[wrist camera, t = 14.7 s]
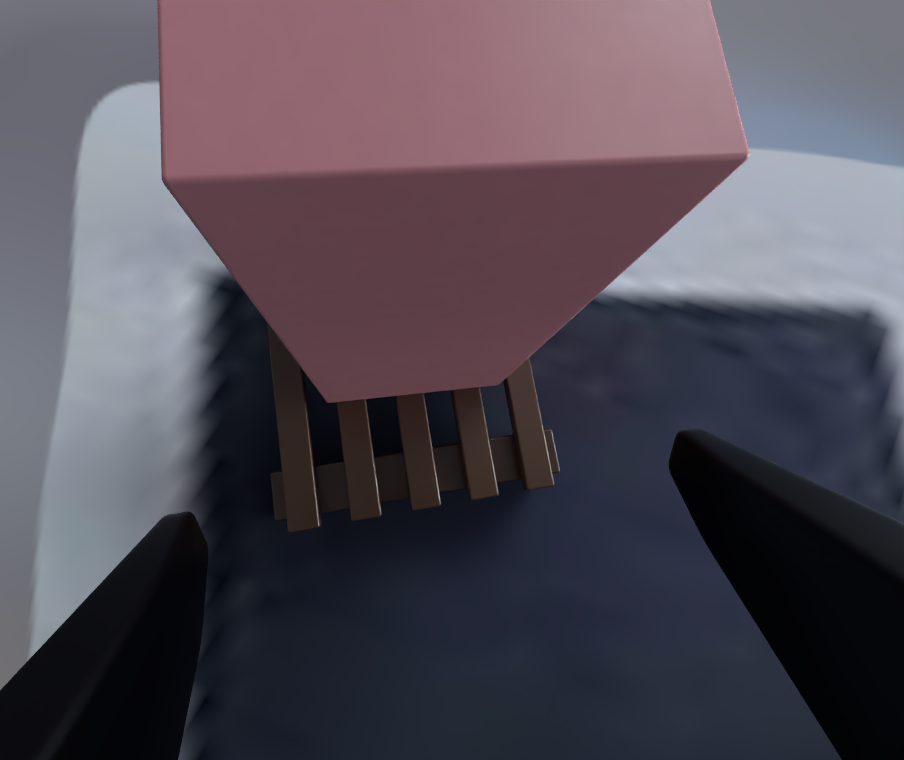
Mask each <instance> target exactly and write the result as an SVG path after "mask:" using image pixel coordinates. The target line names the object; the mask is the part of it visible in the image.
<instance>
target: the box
mask: <svg viewBox="0 0 904 760" xmlns="http://www.w3.org/2000/svg"><path fill="white" fill-rule="evenodd" d="M158 41H159V83H160V124H161V165H162V181H163V183H164V185H165V186H166V187H167V189H168V190H169V191H170V193H171V194H172V195H173V197H174V198H175V199H176V201H177V202H178V203H179V205H180V206H181V207H182V209H183V210H184V211H185V213H186V214H187V215H188V217H189V218H190V219H191V221H192V222H193V223H194V225H195V226H196V227H197V229H198V230H199V231H200V233H201V234H202V236H203V237H204V238H205V240H206V241H207V242H208V244H209V245H210V246H211V248H212V249H213V250H214V252H215V253H216V254H217V256H218V257H219V258H220V260H221V261H222V262H223V264H224V265H225V266H226V268H227V269H228V270H229V272H230V273H231V274H232V276H233V277H234V278H235V280H236V281H237V282H238V284H239V285H240V286H241V288H242V289H243V290H244V292H245V293H246V294H247V296H248V297H249V298H250V300H251V301H252V303H253V304H254V305H255V307H256V308H257V309H258V311H259V312H260V313H261V315H262V316H263V317H264V319H265V320H266V321H267V323H268V324H269V325H270V327H271V328H272V329H273V331H274V332H275V333H276V335H277V336H278V337H279V339H280V340H281V341H282V343H283V344H284V345H285V347H286V348H287V349H288V351H289V352H290V353H291V355H292V356H293V357H294V359H295V360H296V361H297V363H298V364H299V366H300V367H301V368H302V370H303V371H304V372H305V374H306V375H307V376H308V378H309V379H310V380H311V382H312V383H313V384H314V386H315V387H316V388H317V390H318V391H319V392H320V394H321V395H322V396H323V398H324V399H325V400H326V402H327V403H333V402H342V401H352V400H361V399H371V398H380V397H390V396H399V395H409V394H418V393H428V392H437V391H447V390H456V389H466V388H476V387H485V386H495V385H499V384H500V383H501V382H502V381H503V380H504V379H505V378H507V377H508V376H509V375H510V374H511V373H512V372H513V371H514V370H515V369H517V368H518V367H519V366H520V365H521V364H522V363H523V362H524V361H525V360H526V359H528V358H529V357H530V356H531V355H532V354H533V353H534V352H535V351H536V350H537V349H539V348H540V347H541V346H542V345H543V344H544V343H545V342H546V341H547V340H549V339H550V338H551V337H552V336H553V335H554V334H555V333H556V332H557V331H558V330H560V329H561V328H562V327H563V326H564V325H565V324H566V323H567V322H568V321H570V320H571V319H572V318H573V317H574V316H575V315H576V314H577V313H578V312H579V311H581V310H582V309H583V308H584V307H585V306H586V305H587V304H588V303H589V302H591V301H592V300H593V299H594V298H595V297H596V296H597V295H598V294H599V293H600V292H602V291H603V290H604V289H605V288H606V287H607V286H608V285H609V284H610V283H612V282H613V281H614V280H615V279H616V278H617V277H618V276H619V275H620V274H621V273H623V272H624V271H625V270H626V269H627V268H628V267H629V266H630V265H631V264H633V263H634V262H635V261H636V260H637V259H638V258H639V257H640V256H641V255H642V254H644V253H645V252H646V251H647V250H648V249H649V248H650V247H651V246H652V245H653V244H655V243H656V242H657V241H658V240H659V239H660V238H661V237H662V236H663V235H665V234H666V233H667V232H668V231H669V230H670V229H671V228H672V227H673V226H674V225H676V224H677V223H678V222H679V221H680V220H681V219H682V218H683V217H684V216H686V215H687V214H688V213H689V212H690V211H691V210H692V209H693V208H694V207H695V206H697V205H698V204H699V203H700V202H701V201H702V200H703V199H704V198H705V197H707V196H708V195H709V194H710V193H711V192H712V191H713V190H714V189H715V188H716V187H718V186H719V185H720V184H721V183H722V182H723V181H724V180H725V179H726V178H728V177H729V176H730V175H731V174H732V173H733V172H734V171H735V170H736V169H737V168H739V167H740V166H741V165H742V164H743V163H744V162H745V161H746V160H747V159H748V158H749V153H750V152H749V148H748V145H747V141H746V137H745V133H744V130H743V125H742V122H741V118H740V114H739V110H738V106H737V102H736V99H735V95H734V91H733V87H732V83H731V80H730V76H729V72H728V68H727V64H726V61H725V57H724V53H723V49H722V45H721V41H720V37H719V34H718V30H717V26H716V22H715V18H714V14H713V11H712V7H711V3H710V0H158Z"/></svg>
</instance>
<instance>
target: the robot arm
mask: <svg viewBox="0 0 904 760" xmlns="http://www.w3.org/2000/svg"><path fill="white" fill-rule="evenodd" d="M669 470H670V473H671V476H672V478H673V480H674V482H675V484H676V486H677V488H678V490H679V492H680V494H681V496H682V498H683V500H684V502H685V504H686V506H687V508H688V510H689V512H690V514H691V516H692V518H693V520H694V522H695V524H696V526H697V528H698V530H699V532H700V534H701V536H702V537H703V539H704V541H705V543H706V545H707V546H708V548H709V550H710V551H711V553H712V554H713V556H714V558H715V559H716V561H717V562H718V564H719V566H720V567H721V569H722V570H723V572H724V573H725V575H726V577H727V578H728V580H729V581H730V583H731V585H732V586H733V588H734V589H735V591H736V593H737V594H738V596H739V597H740V599H741V600H742V602H743V604H744V605H745V607H746V608H747V610H748V612H749V613H750V615H751V616H752V618H753V619H754V621H755V623H756V624H757V626H758V627H759V629H760V631H761V632H762V634H763V635H764V637H765V638H766V640H767V642H768V643H769V645H770V646H771V648H772V650H773V651H774V653H775V654H776V656H777V657H778V659H779V661H780V662H781V664H782V665H783V667H784V669H785V670H786V672H787V673H788V675H789V677H790V678H791V680H792V681H793V683H794V684H795V686H796V688H797V689H798V691H799V692H800V694H801V696H802V697H803V699H804V700H805V702H806V703H807V705H808V707H809V708H810V710H811V711H812V713H813V715H814V716H815V718H816V719H817V721H818V722H819V724H820V726H821V727H822V729H823V730H824V732H825V734H826V735H827V737H828V738H829V740H830V742H831V743H832V745H833V746H834V748H835V749H836V751H837V753H838V754H839V756H840V757H841V759H842V760H904V524H903V523H901V522H899V521H897V520H895V519H893V518H891V517H888V516H886V515H884V514H882V513H880V512H878V511H876V510H874V509H871V508H869V507H867V506H865V505H863V504H861V503H859V502H857V501H854V500H852V499H850V498H848V497H846V496H844V495H842V494H840V493H837V492H835V491H833V490H831V489H829V488H827V487H825V486H823V485H820V484H818V483H816V482H814V481H812V480H810V479H808V478H806V477H803V476H801V475H799V474H797V473H795V472H793V471H791V470H788V469H786V468H784V467H782V466H780V465H778V464H776V463H774V462H771V461H769V460H767V459H765V458H763V457H761V456H759V455H757V454H754V453H752V452H750V451H748V450H746V449H744V448H742V447H740V446H737V445H735V444H733V443H731V442H729V441H727V440H725V439H723V438H720V437H718V436H716V435H714V434H712V433H710V432H708V431H706V430H703V429H701V428H693V429H687V430H682V431H679V432H678V434H677V435H676V437H675V441H674V444H673V448H672V451H671V455H670V459H669ZM207 566H208V546H207V542H206V540H205V538H204V535H203V533H202V531H201V529H200V527H199V524H198V522H197V520H196V518H195V516H194V515H193V514H192V513H191V512H181V513H175V514H169V515H166V516H164V517H163V518H162V519H161V520H160V521H159V522H158V523H157V524H156V525H155V526H154V527H153V528H152V529H151V530H150V531H149V532H148V533H147V535H146V536H145V537H144V538H143V539H142V540H141V541H140V542H139V543H138V544H137V545H136V546H135V547H134V548H133V549H132V551H131V552H130V553H129V554H128V555H127V556H126V557H125V558H124V559H123V560H122V561H121V562H120V563H119V564H118V565H117V567H116V568H115V569H114V570H113V571H112V572H111V573H110V574H109V575H108V576H107V577H106V578H105V579H104V580H103V581H102V583H101V584H100V585H99V586H98V587H97V588H96V589H95V590H94V591H93V592H92V593H91V594H90V595H89V596H88V597H87V599H86V600H85V601H84V602H83V603H82V604H81V605H80V606H79V607H78V608H77V609H76V610H75V611H74V612H73V613H72V615H71V616H70V617H69V618H68V619H67V620H66V621H65V622H64V623H63V624H62V625H61V626H60V627H59V628H58V629H57V631H56V632H55V633H54V634H53V635H52V636H51V637H50V638H49V639H48V640H47V641H46V642H45V643H44V644H43V645H42V647H41V648H40V649H39V650H38V651H37V652H36V653H35V654H34V655H33V656H32V657H31V658H30V659H29V660H28V661H27V662H26V664H25V665H24V666H23V667H22V668H21V669H20V670H19V671H18V672H17V673H16V674H15V675H14V676H13V677H12V679H11V680H10V681H9V682H8V683H7V684H6V685H5V686H4V687H3V688H2V689H1V690H0V760H178V757H179V752H180V747H181V742H182V737H183V732H184V727H185V722H186V717H187V712H188V707H189V702H190V697H191V692H192V687H193V682H194V677H195V672H196V667H197V662H198V657H199V651H200V645H201V637H202V628H203V615H204V603H205V591H206V578H207Z"/></svg>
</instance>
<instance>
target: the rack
mask: <svg viewBox="0 0 904 760" xmlns="http://www.w3.org/2000/svg"><path fill="white" fill-rule="evenodd" d="M267 329H268V339H269V349H270V359H271V369H272V378H273V388H274V398H275V408H276V418H277V428H278V437H279V447H280V457H281V467H282V471H280V472H273V473H271V475H270V476H271V486H272V496H273V506H274V517H275V520H276V521H280V520H285V519H287V526H288V531H289V532H294V531H300V530H306V529H311V528H317V527H319V526H321V524H322V523H321V514H320V513H326V512H332V511H338V510H344V509H350V516H351V520H352V521H357V520H363V519H368V518H374V517H380V516H381V514H382V512H381V505H380V503H384V502H390V501H396V500H402V499H408V498H410V505H411V509H412V510H420V509H425V508H431V507H437V506H440V505H441V500H440V494H439V493H443V492H449V491H454V490H460V489H467V495H468V499H469V500H477V499H482V498H488V497H494V496H498V494H499V493H498V487H497V483H501V482H507V481H513V480H519V479H522V484H523V489H524V490H534V489H539V488H545V487H551V486H554V480H553V475H552V474H554V473H559V472H560V468H559V463H558V458H557V453H556V448H555V443H554V438H553V433H552V430H551V429H546V430H544V429H543V424H542V419H541V414H540V409H539V404H538V399H537V394H536V389H535V383H534V378H533V373H532V368H531V363H530V358H528V359H526V360H525V361H524V362H523V363H522V364H521V365H520V366H519V367H518V368H517V369H515V370H514V371H513V372H512V373H511V374H510V375H509V376H508V377H507V378H505V379H504V380H503V382H504V387H505V393H506V398H507V403H508V409H509V414H510V420H511V425H512V430H513V435H508V436H502V437H495V438H489V436H488V431H487V425H486V419H485V414H484V408H483V402H482V396H481V391H480V387H476V388H466V389H456V390H450V392H451V398H452V404H453V410H454V416H455V422H456V428H457V434H458V440H459V443H457V444H451V445H445V446H438V447H432V442H431V436H430V429H429V423H428V416H427V410H426V404H425V397H424V393H418V394H409V395H399V396H395V402H396V408H397V415H398V422H399V429H400V436H401V443H402V450H403V452H400V453H394V454H387V455H381V456H375V457H374V453H373V445H372V438H371V430H370V423H369V416H368V408H367V401H366V399H361V400H352V401H342V402H336V403H337V411H338V419H339V427H340V435H341V443H342V452H343V460H344V461H343V462H337V463H330V464H324V465H318V466H315V462H314V453H313V444H312V435H311V426H310V418H309V409H308V400H307V391H306V382H305V373H304V371H303V370H302V368H301V367H300V366H299V364H298V363H297V361H296V360H295V359H294V357H293V356H292V355H291V353H290V352H289V351H288V349H287V348H286V347H285V345H284V344H283V343H282V341H281V340H280V339H279V337H278V336H277V335H276V333H275V332H274V331H273V329H272V328H271V327H270V325H269V324H268V323H267Z"/></svg>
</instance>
